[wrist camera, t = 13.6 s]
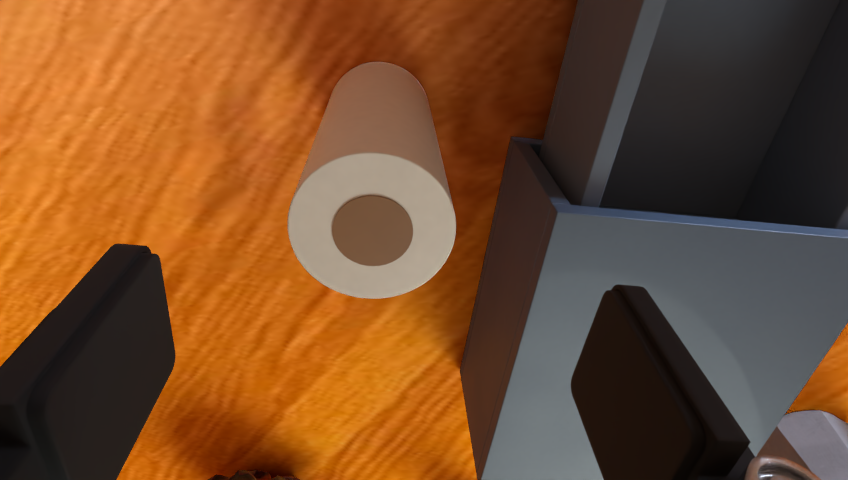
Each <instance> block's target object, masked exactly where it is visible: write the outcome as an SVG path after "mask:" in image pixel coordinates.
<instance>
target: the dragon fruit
mask: <svg viewBox="0 0 848 480" xmlns="http://www.w3.org/2000/svg"><path fill="white" fill-rule="evenodd" d="M208 480H300V479H298V478H296V477H295V476H282V477H280V476H279V475H277V476H276V477H275V478H272V479H271V476H270V474H269V473H268V472H265V471H258V470H253V471H249V472H248V471H245V470H239V471H237V472H236V473H235V475H234V476H232V477H231V478H229V477H225V476H222V475H215V476H214V477H212V478H210V479H208Z"/></svg>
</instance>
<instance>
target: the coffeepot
mask: <svg viewBox="0 0 848 480" xmlns="http://www.w3.org/2000/svg"><path fill="white" fill-rule="evenodd" d="M759 455H775V456H779V457H783V458H786V459H788V460H791V461H793V462H795V463H798V464H800V465H801V466H803V467H804V468H806V469H808V470H809V471H811V472H812V473H814V474H815V475H816V476H817V477H819V478H820V479H821V480H848V423H846V422H844V421H842V420H840V419H839V418H837V417H836V416H834V415H833V414H830V413H827V412H823V411H821V410H810V411H799V412H793V413H789V414H786V415H784V416H783V418H782V419H781V421H780V422H779V424H778V425H777V426H776V428H775V429H774V431H773V432H772V434H771V435H770V437H769V438H768V440H767V441H766V443H765V444H764V445H763V447H762V448H761V450H760V451H759V453H758V454H757V456H759ZM757 456H756V457H757Z"/></svg>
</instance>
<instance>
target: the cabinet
mask: <svg viewBox="0 0 848 480" xmlns="http://www.w3.org/2000/svg"><path fill="white" fill-rule="evenodd" d="M542 142H543V140H540V139H531V138H521V137H511V139H510V144H509V148H508V153H507V157H506V162H505V166H504V171H503V176H502V180H501V185H500V189H499V194H498V199H497V203H496V208H495V212H494V217H493V221H492V226H491V231H490V235H489V240H488V244H487V249H486V254H485V258H484V263H483V267H482V272H481V276H480V281H479V286H478V290H477V295H476V299H475V304H474V309H473V313H472V318H471V322H470V327H469V331H468V336H467V341H466V345H465V350H464V354H463V359H462V364H461V368H460V375H461V381H462V387H463V393H464V400H465V406H466V412H467V418H468V424H469V430H470V437H471V443H472V449H473V455H474V461H475V467H476V473H477V480H604V479H603V477H602V474H601V471H600V469H599V466H598V463H597V461H596V458H595V455H594V452H593V450H592V447H591V444H590V442H589V439H588V436H587V434H586V431H585V428H584V426H583V423H582V420H581V417H580V415H579V412H578V409H577V407H576V404H575V401H574V399H573V396H572V393H571V378H572V375H573V372H574V370H575V367H576V365H577V362H578V359H579V357H580V354H581V351H582V349H583V346H584V344H585V341H586V338H587V336H588V333H589V330H590V328H591V325H592V323H593V320H594V317H595V315H596V312H597V309H598V307H599V304H600V301H601V299H602V296H603V294H604V293H605V292H606V291H607V290H611V289H612V288H613V287H614V286H615V285H617V284H619V285H631V286H641V287H644V288H645V289H646V290H647V291H648V293H649V294H650V296H651V297H652V299H653V300H654V302H655V303H656V304H657V306H658V307H659V309H660V310H661V312H662V313H663V315H664V316H665V318H666V319H667V321H668V322H669V323H670V325H671V326H672V328H673V329H674V331H675V332H676V334H677V335H678V337H679V338H680V339H681V341H682V342H683V344H684V345H685V347H686V348H687V350H688V351H689V353H690V354H691V356H692V357H693V358H694V360H695V361H696V363H697V364H698V366H699V367H700V369H701V370H702V372H703V373H704V375H705V376H706V377H707V379H708V380H709V382H710V383H711V385H712V386H713V388H714V389H715V391H716V392H717V393H718V395H719V396H720V398H721V399H722V401H723V402H724V404H725V405H726V407H727V408H728V410H729V411H730V412H731V414H732V415H733V417H734V418H735V420H736V421H737V423H738V424H739V426H740V427H741V428H742V430H743V431H744V433H745V434H746V436H747V437H748V439H749V440H750V442H751V443H750V444H749V445H748V447H749V448H750V450H751V451H752V453H753V454H754V456H755V457H756V456H757V454H758V453H759V451H760V450H761V448H762V447H763V445H764V444H765V443H766V441H767V440H768V438H769V437H770V435H771V434H772V432H773V431H774V429H775V428H776V426H777V425H778V424H779V422H780V421H781V419H782V418H783V416H784V415H785V413H786V412H787V410H788V409H789V408H790V406H791V405H792V403H793V402H794V400H795V399H796V397H797V396H798V394H799V393H800V391H801V390H802V389H803V387H804V386H805V384H806V383H807V381H808V380H809V378H810V377H811V375H812V374H813V372H814V371H815V370H816V368H817V367H818V365H819V364H820V362H821V361H822V359H823V358H824V356H825V355H826V353H827V352H828V351H829V349H830V348H831V346H832V345H833V343H834V342H835V340H836V339H837V337H838V336H839V335H840V333H841V332H842V330H843V329H844V327H845V326H846V324H847V323H848V230H841V229H830V228H819V227H808V226H797V225H786V224H775V223H764V222H753V221H742V220H731V219H720V218H709V217H698V216H687V215H676V214H665V213H654V212H643V211H632V210H621V209H610V208H599V207H588V206H577V205H570V203H569V201H568V200H567V199H566V197H565V196H564V194H563V193H562V191H561V190H560V188H559V187H558V185H557V184H556V182H555V181H554V179H553V178H552V176H551V175H550V173H549V172H548V171H547V169H546V168H545V166H544V165H543V163H542V162H541V160H540V159H539V154H540V150H541V146H542Z"/></svg>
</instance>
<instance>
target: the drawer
mask: <svg viewBox="0 0 848 480" xmlns="http://www.w3.org/2000/svg"><path fill="white" fill-rule="evenodd" d="M539 159H540V160H541V162H542V163H543V165H544V166H545V168H546V169H547V171H548V172H549V173H550V175H551V176H552V178H553V179H554V181H555V182H556V184H557V185H558V187H559V188H560V190H561V191H562V193H563V194H564V196H565V197H566V199H567V200H568V201H569V203H570V205H577V206H588V207H599V208H610V209H621V210H632V211H643V212H654V213H665V214H676V215H687V216H698V217H709V218H720V219H731V220H742V221H753V222H764V223H775V224H786V225H797V226H808V227H819V228H830V229H841V230H848V0H578V2H577V6H576V10H575V14H574V18H573V22H572V26H571V30H570V34H569V38H568V42H567V46H566V50H565V54H564V58H563V62H562V66H561V70H560V74H559V78H558V82H557V86H556V90H555V94H554V98H553V102H552V106H551V110H550V114H549V118H548V122H547V126H546V130H545V134H544V138H543V142H542V146H541V150H540V154H539Z"/></svg>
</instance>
